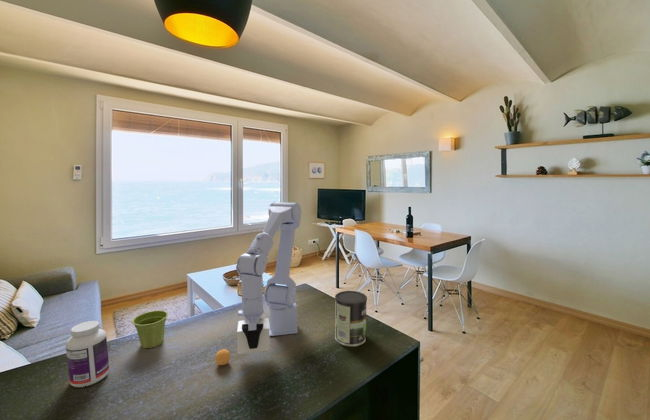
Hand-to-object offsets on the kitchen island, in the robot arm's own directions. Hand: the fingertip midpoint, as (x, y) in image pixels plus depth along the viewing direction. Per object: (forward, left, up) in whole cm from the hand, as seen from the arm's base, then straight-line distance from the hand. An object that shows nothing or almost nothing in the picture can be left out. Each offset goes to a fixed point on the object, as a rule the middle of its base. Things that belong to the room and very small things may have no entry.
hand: (253, 341), depth 83 cm
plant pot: (+31, -15, -6) cm, 35 cm away
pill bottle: (+41, -1, -6) cm, 42 cm away
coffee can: (-31, -5, -6) cm, 32 cm away
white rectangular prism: (0, 0, -2) cm, 2 cm away
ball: (+9, 0, -4) cm, 9 cm away
